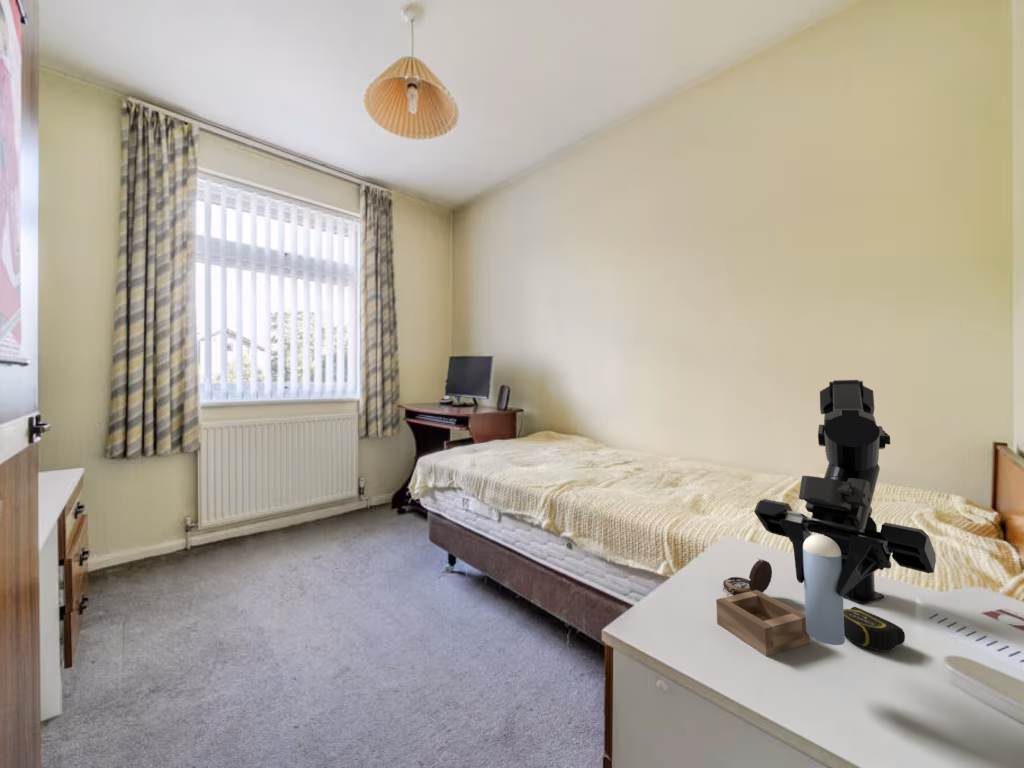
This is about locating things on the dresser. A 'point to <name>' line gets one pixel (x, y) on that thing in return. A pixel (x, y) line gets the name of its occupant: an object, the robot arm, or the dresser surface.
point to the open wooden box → (762, 622)
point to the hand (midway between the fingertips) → (818, 587)
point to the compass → (751, 579)
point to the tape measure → (871, 630)
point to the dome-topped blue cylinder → (823, 590)
